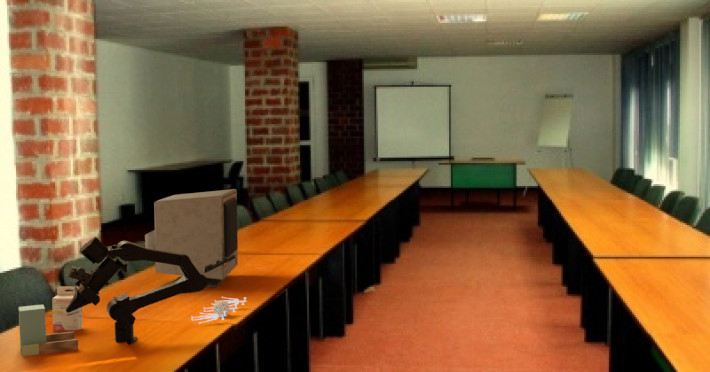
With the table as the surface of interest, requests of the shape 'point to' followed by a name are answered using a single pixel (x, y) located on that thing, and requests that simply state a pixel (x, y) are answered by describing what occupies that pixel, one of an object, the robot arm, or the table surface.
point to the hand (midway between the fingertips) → (66, 311)
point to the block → (32, 325)
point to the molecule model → (222, 306)
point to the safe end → (30, 349)
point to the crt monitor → (197, 232)
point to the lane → (59, 343)
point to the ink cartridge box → (60, 315)
